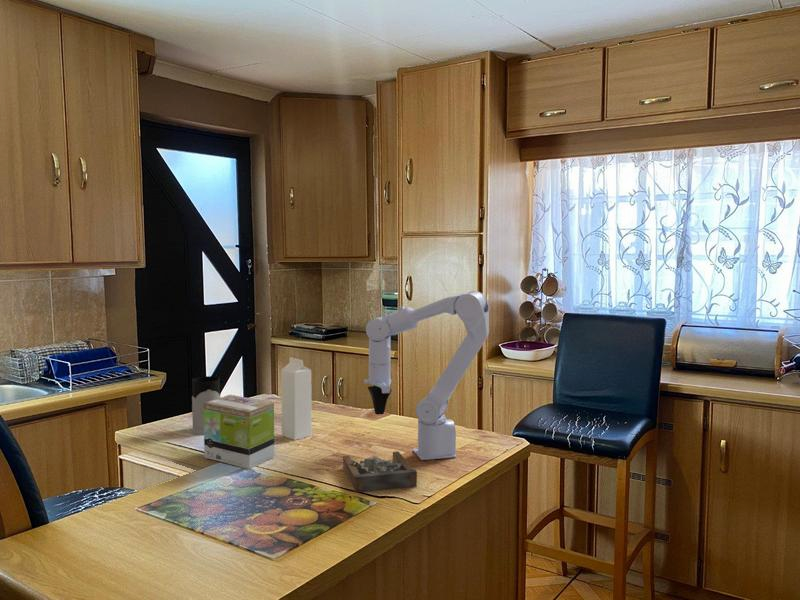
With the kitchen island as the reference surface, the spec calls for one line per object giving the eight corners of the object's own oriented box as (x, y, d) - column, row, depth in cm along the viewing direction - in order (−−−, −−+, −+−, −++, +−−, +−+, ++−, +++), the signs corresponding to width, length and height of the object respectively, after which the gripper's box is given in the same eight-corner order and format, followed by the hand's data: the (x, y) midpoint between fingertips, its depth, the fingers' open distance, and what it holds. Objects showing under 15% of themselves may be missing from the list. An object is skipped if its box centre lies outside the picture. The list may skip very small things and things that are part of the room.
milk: (294, 440, 175) (294, 361, 173) (281, 435, 179) (280, 358, 177) (312, 435, 180) (311, 358, 177) (298, 431, 184) (297, 355, 181)
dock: (398, 463, 159) (398, 449, 158) (416, 486, 144) (416, 471, 143) (342, 468, 155) (342, 454, 154) (355, 492, 140) (355, 477, 140)
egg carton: (348, 476, 150) (348, 459, 149) (370, 467, 156) (370, 451, 155) (383, 487, 143) (383, 470, 143) (404, 478, 149) (404, 461, 149)
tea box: (202, 459, 160) (201, 401, 158) (230, 448, 169) (229, 393, 167) (249, 470, 153) (248, 410, 151) (276, 457, 162) (275, 400, 160)
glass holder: (194, 436, 178) (192, 383, 176) (185, 423, 190) (184, 373, 189) (225, 432, 182) (224, 380, 180) (215, 419, 194) (214, 371, 193)
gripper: (359, 358, 173) (358, 407, 174) (371, 369, 159) (370, 422, 161) (384, 357, 175) (383, 405, 176) (398, 368, 161) (397, 420, 162)
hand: (379, 413), depth 169 cm, fingers closed
